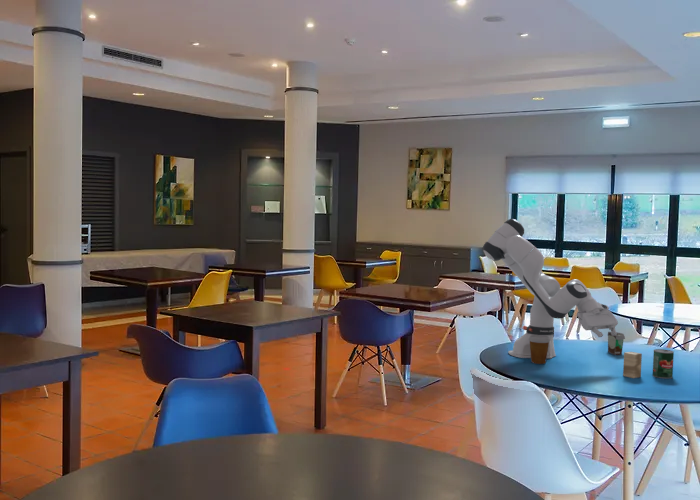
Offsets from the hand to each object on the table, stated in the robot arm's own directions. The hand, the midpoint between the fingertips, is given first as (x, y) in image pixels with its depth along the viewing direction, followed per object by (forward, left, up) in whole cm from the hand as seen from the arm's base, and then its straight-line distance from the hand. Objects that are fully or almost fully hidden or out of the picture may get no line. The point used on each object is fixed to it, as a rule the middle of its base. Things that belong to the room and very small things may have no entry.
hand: (608, 335), depth 303 cm
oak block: (+4, -12, -15) cm, 20 cm away
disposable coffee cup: (-23, +19, -16) cm, 34 cm away
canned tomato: (+18, -13, -16) cm, 27 cm away
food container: (+29, +36, -16) cm, 49 cm away
